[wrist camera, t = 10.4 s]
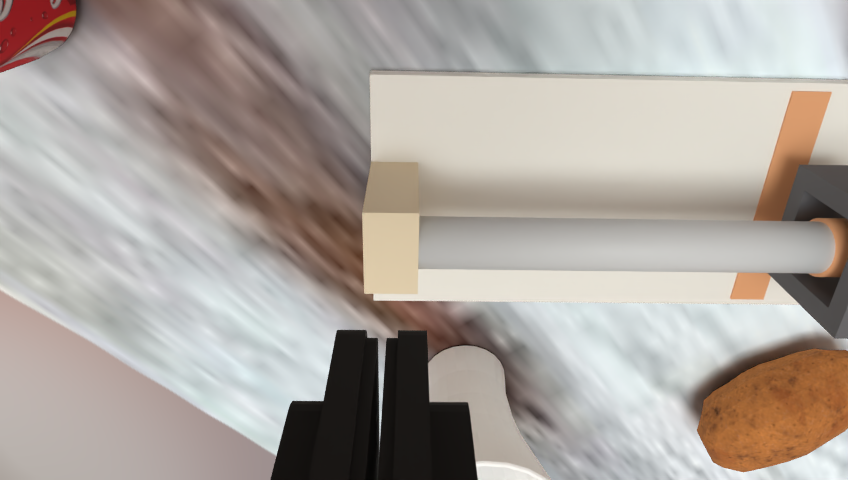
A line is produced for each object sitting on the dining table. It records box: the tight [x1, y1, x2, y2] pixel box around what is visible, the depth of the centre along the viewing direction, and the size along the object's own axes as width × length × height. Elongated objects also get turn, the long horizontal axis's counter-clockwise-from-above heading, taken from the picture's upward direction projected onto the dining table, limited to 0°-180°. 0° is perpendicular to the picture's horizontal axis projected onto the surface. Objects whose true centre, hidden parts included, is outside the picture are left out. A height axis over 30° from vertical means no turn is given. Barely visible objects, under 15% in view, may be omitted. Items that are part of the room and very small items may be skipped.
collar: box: [768, 165, 848, 339], centre depth 35 cm, size 7×4×7 cm, turn 179°
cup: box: [428, 345, 551, 480], centre depth 42 cm, size 10×10×14 cm
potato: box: [697, 349, 848, 472], centre depth 46 cm, size 7×13×7 cm, turn 118°
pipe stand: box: [362, 70, 848, 305], centre depth 37 cm, size 16×36×9 cm, turn 89°
